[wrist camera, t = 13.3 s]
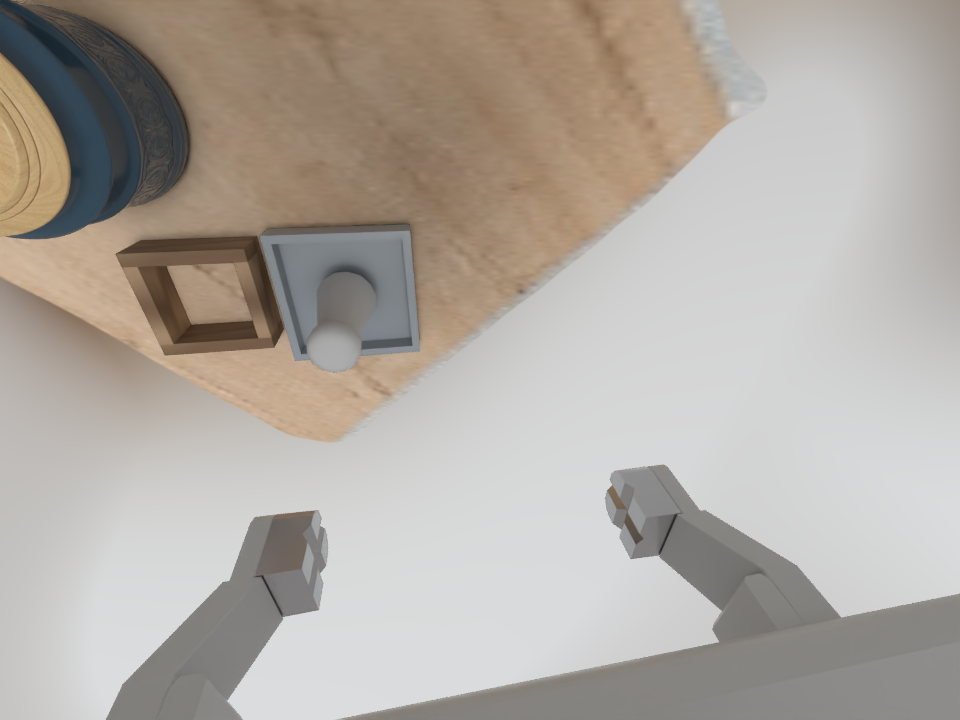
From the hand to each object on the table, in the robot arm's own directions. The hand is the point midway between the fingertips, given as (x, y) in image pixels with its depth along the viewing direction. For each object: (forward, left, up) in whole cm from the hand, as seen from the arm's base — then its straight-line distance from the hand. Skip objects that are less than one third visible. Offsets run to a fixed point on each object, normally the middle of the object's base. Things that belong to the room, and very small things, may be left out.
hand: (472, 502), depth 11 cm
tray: (+8, -8, -35) cm, 37 cm away
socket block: (+7, -21, -35) cm, 41 cm away
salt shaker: (+8, -8, -35) cm, 36 cm away
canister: (-8, -25, -35) cm, 44 cm away
